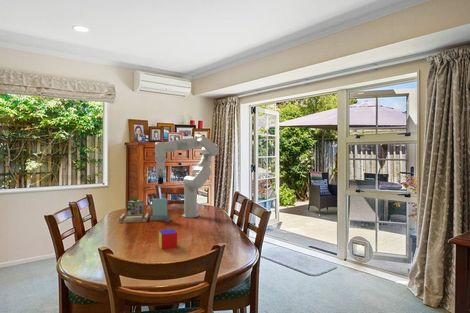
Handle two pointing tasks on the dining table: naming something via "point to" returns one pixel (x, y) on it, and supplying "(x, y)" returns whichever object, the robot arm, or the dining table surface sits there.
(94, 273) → the dining table surface
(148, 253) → the dining table surface
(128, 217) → the beige rectangular block
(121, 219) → the rack
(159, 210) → the teal rectangular slab
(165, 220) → the stand
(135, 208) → the chalk box
